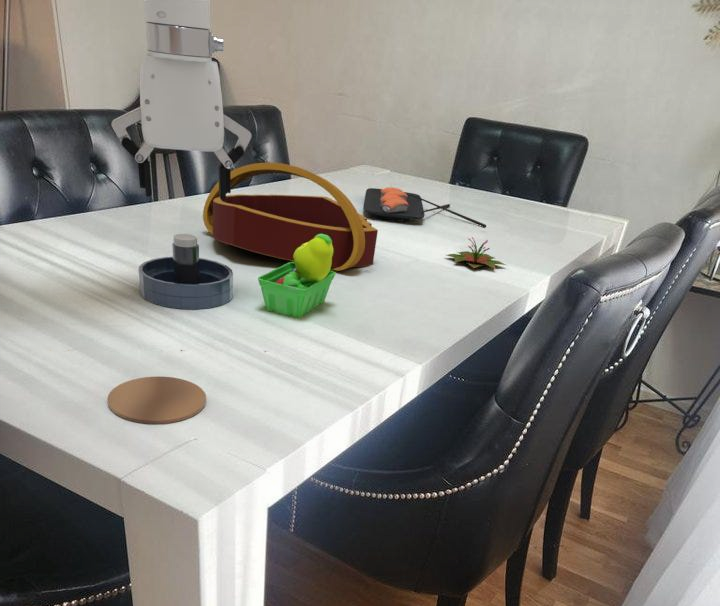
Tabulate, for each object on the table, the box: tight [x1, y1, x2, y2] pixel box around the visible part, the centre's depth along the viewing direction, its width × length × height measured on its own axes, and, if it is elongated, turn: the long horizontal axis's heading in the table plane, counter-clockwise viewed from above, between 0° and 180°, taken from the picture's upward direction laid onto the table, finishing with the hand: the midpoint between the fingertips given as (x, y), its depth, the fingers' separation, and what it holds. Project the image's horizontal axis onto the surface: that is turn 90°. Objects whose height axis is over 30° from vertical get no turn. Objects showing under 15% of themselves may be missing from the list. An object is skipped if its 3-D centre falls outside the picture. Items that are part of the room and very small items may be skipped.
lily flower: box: [446, 236, 507, 270], centre depth 127 cm, size 12×12×5 cm
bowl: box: [138, 256, 234, 310], centre depth 94 cm, size 13×13×4 cm
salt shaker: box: [171, 233, 200, 284], centre depth 92 cm, size 4×4×8 cm
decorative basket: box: [202, 162, 379, 272], centre depth 116 cm, size 34×29×15 cm
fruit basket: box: [257, 234, 337, 319], centre depth 93 cm, size 11×9×11 cm
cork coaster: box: [107, 375, 207, 425], centre depth 69 cm, size 10×10×1 cm
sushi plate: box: [363, 186, 487, 228], centre depth 160 cm, size 29×30×4 cm
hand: (186, 196), depth 87 cm, fingers open, 9 cm apart
